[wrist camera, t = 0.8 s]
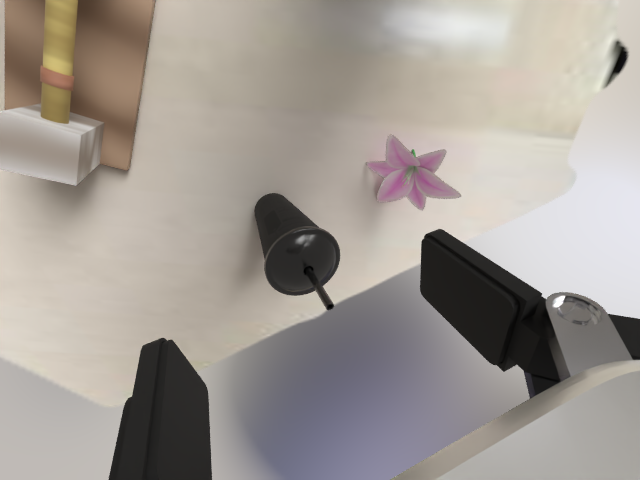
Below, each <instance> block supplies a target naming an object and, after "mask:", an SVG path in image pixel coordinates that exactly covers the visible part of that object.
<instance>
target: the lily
mask: <svg viewBox="0 0 640 480" xmlns="http://www.w3.org/2000/svg"><path fill="white" fill-rule="evenodd" d="M412 152H413V155H412V154H411V153H410V152H409V151H408V150H407V148H406V147H405V146H404V145H403V144H402V143H401V142H400V141H399V140H398V139H397V138H396V137H395V136H394V135H392V134H390V135H389V136H388V138H387V144H386V161H380V162H366V165H367V166H368V167H369V168H370V169H371V170H372V171H374V172H375V173H377V174H378V175H380V176H381V177H383V178H385V179H384V180H383V182H382V184H381V186H380V188H379V191H378V194H377V200H378V202H391V201H396V200H400V199H402V198H404V197H407V198H408V200H409V201H410V202H411V203H412V204H413V205H414V206H415V207H417V208H418V209H419V210H423V209H424V207H425V202H426V196H427V197H430V198H438V199H453V198H459V197H461V194H460V193H459V192H458V191H456V190H455V189H454V188H452V187H451V186H449V185H448V184H446V183H445V182H444V181H442V180H441V179H440V178H439V177H437V176H436V175H435V174H434V173H435V172H436V170H437V169H438V168H439V166H440V165H441V163H442V161H443V159H444V157H445V155H446V150H438V151H435V152H431V153H428V154H424V155H421V156H418V157H416V155H415V152H414V149H413V150H412Z"/></svg>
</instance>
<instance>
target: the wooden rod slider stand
mask: <svg viewBox="0 0 640 480" xmlns="http://www.w3.org/2000/svg"><path fill="white" fill-rule="evenodd" d="M154 7H155V0H5V110H4V111H0V170H4V171H9V172H14V173H18V174H23V175H28V176H32V177H37V178H42V179H47V180H51V181H56V182H61V183H66V184H70V185H75V186H77V185H78V184H79V183H80V182H81V181H82V180H83V179H84V178H85V177H86V176H87V175H88V174H89V173H90V172H91V171H92V170H93V169H95V168H96V167H97V166H98V165H99V164H103V165H107V166H111V167H115V168H119V169H123V170H128V169H129V167H130V163H131V157H132V150H133V144H134V137H135V131H136V124H137V118H138V111H139V105H140V98H141V92H142V85H143V78H144V72H145V65H146V59H147V52H148V46H149V39H150V33H151V26H152V20H153V13H154Z"/></svg>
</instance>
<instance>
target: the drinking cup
mask: <svg viewBox="0 0 640 480" xmlns="http://www.w3.org/2000/svg"><path fill="white" fill-rule="evenodd" d="M255 216H256V221H257V226H258V230H259V235H260V239H261V244H262V249H263V253H264V258H265V264H264V270H265V275H266V278H267V280H268V282H269V283H270V285H271V286H272V287H273V288H274V289H275V290H277V291H279V292H281V293H283V294H286V295H294V296H297V295H304V294H308V293H311V292H313V291H315V290H316V292H317V294H318V295H319V297H320V299H321V300H322V302H323V304H324V306H325V307H326V309H327V310H331V309H332V308H333V307H334V304H333V303H332V301H331V299H330V298H329V296H328V294H327V293H326V291H325V290H324V288H323V285H325V284H326V283H327V282H328V281H329V280H330V279H331V278H332V276H333V275H334V273H335V272H336V270H337V268H338V265H339V261H340V249H339V245H338V243H337V241H336V240H335V238H334V237H333V236H332V235H331V234H330V233H329V232H327V231H326V230H324V229H321V228H319V227H318V226H317V225H316V224H315V223H313V222H312V221H311V220H310V219H309V218H308V217H307V216H305V215H304V214H303V213H302V212H301V211H300V210H299V209H297V208H296V207H295V206H294V205H293V204H292V203H291V202H289V201H288V200H287V199H286V198H285V197H284V196H282V195H280V194H276V193H272V194H267V195H265V196H263V197H262V198H261V199H260V200H259V201H258V202H257V204H256V206H255Z"/></svg>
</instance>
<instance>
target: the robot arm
mask: <svg viewBox="0 0 640 480" xmlns="http://www.w3.org/2000/svg"><path fill="white" fill-rule="evenodd" d="M420 291H421V294H422V295H423V297H424V298H425V299H426V300H427V301H428V302H429V303H430V304H431V305H432V306H433V307H434V308H435V309H436V310H437V311H438V312H439V313H440V314H441V315H442V316H443V317H444V318H445V319H446V320H447V321H448V322H449V323H450V324H451V325H452V326H453V327H454V328H455V329H456V330H457V331H458V332H459V333H460V334H461V335H462V336H463V337H464V338H465V339H466V340H467V341H468V342H469V343H470V344H471V345H472V346H473V347H475V349H476V350H478V352H479V353H480V354H481V355H482V356H483V357H484V358H485V359H486V360H488V361H489V362H490V363H491V364H493V365H497V366H498V367H499V368H500V369H501V370H502V371H506V370H508V369H510V368H512V367H513V366H515V365H516V364H517V365H518V366H519V367H520V368H521V369H523V370H524V375H525V379H526V383H527V388H528V393H529V397H530V399H529V400H527V401H525V402H523V403H522V404H520V405H518V406H516V407H515V408H513V409H511V410H509V411H508V412H506V413H504V414H503V415H501V416H499V417H497V418H496V419H494V420H492V421H490V422H489V423H487V424H485V425H484V426H482V427H480V428H478V429H477V430H475V431H473V432H471V433H470V434H468V435H466V436H464V437H463V438H461V439H459V440H458V441H456V442H454V443H452V444H451V445H449V446H447V447H446V448H444V449H442V450H441V451H439V452H437V453H435V454H434V455H432V456H430V457H428V458H427V459H425V460H423V461H421V462H420V463H418V464H416V465H415V466H413V467H411V468H410V469H408V470H406V471H404V472H403V473H401V474H399V475H397V476H396V477H394V478H392V479H391V480H640V319H637V318H630V317H624V316H618V315H611V314H607V312H606V311H605V310H604V309H603V307H601V306H600V305H599V304H598V303H596V302H595V301H593V300H591V299H589V298H587V297H584V296H581V295H578V294H574V293H568V292H559V293H555V294H552V295H550V296H549V297H548V298H547V300H546V299H545V298H543V297H542V296H541V295H542V293H540V292H539V291H537V290H536V289H534V288H533V287H531V286H529V285H528V284H527V283H525V282H523V281H522V280H520V279H518V278H517V277H516V276H514V275H512V274H511V273H509V272H508V271H506V270H505V269H503V268H501V267H500V266H498V265H497V264H495V263H494V262H492V261H491V260H489V259H488V258H486V257H484V256H483V255H481V254H480V253H478V252H477V251H475V250H473V249H472V248H470V247H469V246H467V245H466V244H464V243H463V242H461V241H459V240H458V239H456V238H455V237H453V236H452V235H450V234H448V233H447V232H445V231H444V230H442V229H438V230H435V231H433V232H430V233H428V234H426V235H425V236H424V239H423V240H422V245H421V281H420ZM209 425H210V424H209V402H208V390H207V387H206V385H205V383H204V382H203V380H202V379H201V378H200V376H199V375H198V374H197V372H196V371H195V369H194V368H193V367H192V365H191V364H190V363H189V361H188V360H187V359H186V357H185V356H184V355H183V353H182V352H181V351H180V349H179V348H178V347H177V345H176V344H175V343H174V341H173V340H168V341H167V340H166V339H165V338H161V339H158V340H156V341H153V342H151V343H148V344H145V345H143V347H142V349H141V353H140V358H139V364H138V369H137V374H136V379H135V385H134V390H133V395H132V397H130V398H128V400H127V401H126V403H125V406H124V409H123V414H122V418H121V423H120V428H119V433H118V437H117V442H116V447H115V452H114V456H113V461H112V466H111V471H110V475H109V480H212V471H211V448H210V426H209Z"/></svg>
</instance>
